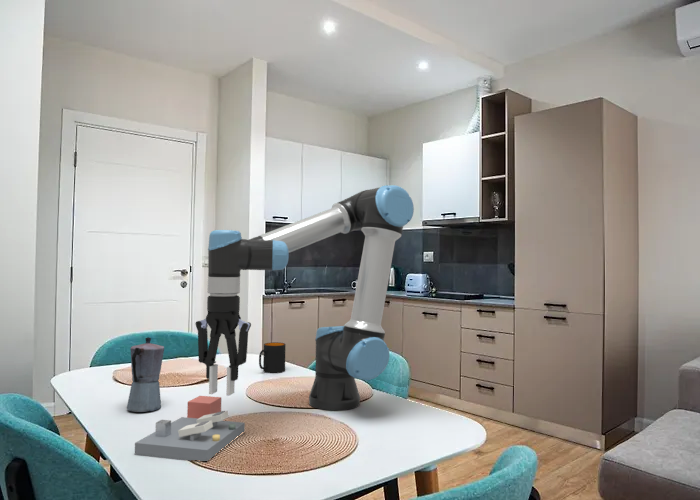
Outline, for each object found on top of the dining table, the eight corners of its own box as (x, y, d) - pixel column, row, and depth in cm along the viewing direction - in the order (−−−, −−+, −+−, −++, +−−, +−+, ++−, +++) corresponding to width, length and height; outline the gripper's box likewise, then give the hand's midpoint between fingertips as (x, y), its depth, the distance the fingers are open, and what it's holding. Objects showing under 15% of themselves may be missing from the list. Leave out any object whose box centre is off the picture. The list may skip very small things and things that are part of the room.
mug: (251, 373, 193) (251, 345, 193) (274, 368, 202) (274, 341, 202) (266, 376, 188) (267, 347, 188) (289, 370, 197) (290, 343, 197)
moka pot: (170, 402, 151) (171, 334, 152) (151, 418, 136) (153, 342, 137) (137, 402, 151) (139, 334, 152) (115, 417, 136) (117, 342, 136)
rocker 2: (228, 416, 123) (227, 409, 123) (221, 420, 119) (220, 414, 120) (205, 421, 124) (203, 414, 124) (197, 425, 121) (196, 419, 121)
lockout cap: (221, 415, 139) (221, 397, 139) (209, 423, 133) (210, 403, 133) (199, 414, 140) (199, 395, 140) (187, 421, 134) (187, 401, 134)
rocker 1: (213, 426, 115) (211, 419, 115) (205, 431, 112) (203, 424, 112) (187, 431, 116) (186, 424, 117) (179, 436, 113) (177, 429, 113)
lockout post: (170, 433, 117) (171, 420, 117) (164, 437, 114) (165, 423, 114) (161, 432, 117) (161, 419, 117) (155, 436, 115) (155, 422, 115)
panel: (244, 432, 125) (244, 418, 125) (206, 462, 107) (207, 444, 107) (181, 427, 129) (181, 412, 129) (134, 454, 110) (135, 437, 111)
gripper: (262, 294, 124) (261, 392, 123) (199, 292, 128) (197, 387, 127) (250, 296, 117) (248, 400, 116) (183, 294, 120) (181, 395, 120)
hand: (221, 393), depth 122 cm, fingers open, 4 cm apart
